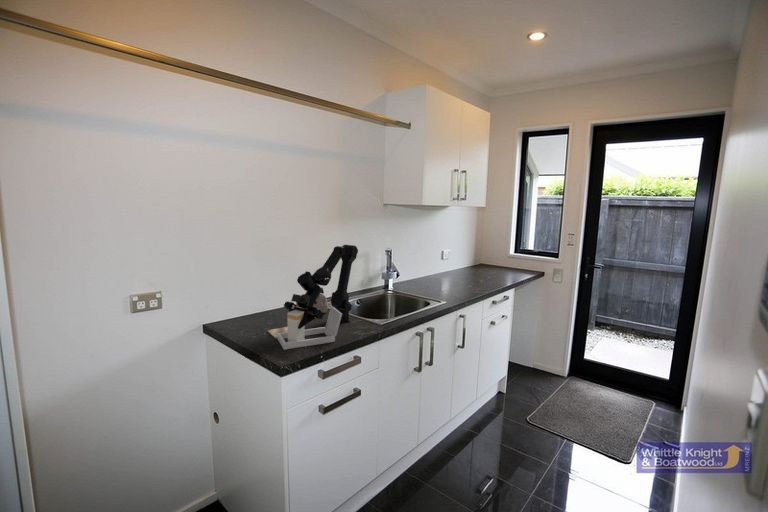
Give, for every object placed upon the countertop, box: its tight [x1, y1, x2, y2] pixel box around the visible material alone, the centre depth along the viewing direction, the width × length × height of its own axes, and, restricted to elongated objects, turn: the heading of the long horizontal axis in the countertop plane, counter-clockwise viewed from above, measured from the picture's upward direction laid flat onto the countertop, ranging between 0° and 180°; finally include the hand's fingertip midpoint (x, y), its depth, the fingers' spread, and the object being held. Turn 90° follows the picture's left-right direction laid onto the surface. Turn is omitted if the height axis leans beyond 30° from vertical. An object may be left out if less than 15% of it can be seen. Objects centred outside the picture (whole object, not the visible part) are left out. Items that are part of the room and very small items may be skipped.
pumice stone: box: [313, 293, 330, 314], centre depth 201 cm, size 15×8×10 cm, turn 76°
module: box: [286, 310, 306, 342], centre depth 157 cm, size 5×5×13 cm
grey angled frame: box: [276, 305, 342, 350], centre depth 161 cm, size 25×13×12 cm, turn 117°
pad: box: [267, 326, 288, 339], centre depth 169 cm, size 10×10×1 cm
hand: (293, 327), depth 156 cm, fingers closed on module, 5 cm apart
